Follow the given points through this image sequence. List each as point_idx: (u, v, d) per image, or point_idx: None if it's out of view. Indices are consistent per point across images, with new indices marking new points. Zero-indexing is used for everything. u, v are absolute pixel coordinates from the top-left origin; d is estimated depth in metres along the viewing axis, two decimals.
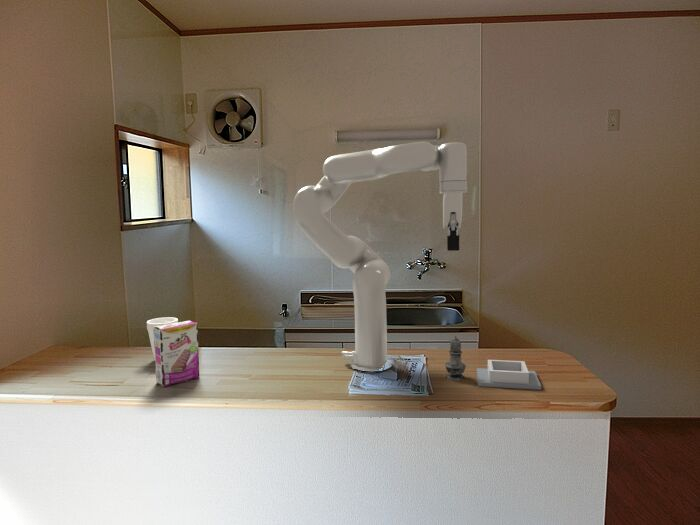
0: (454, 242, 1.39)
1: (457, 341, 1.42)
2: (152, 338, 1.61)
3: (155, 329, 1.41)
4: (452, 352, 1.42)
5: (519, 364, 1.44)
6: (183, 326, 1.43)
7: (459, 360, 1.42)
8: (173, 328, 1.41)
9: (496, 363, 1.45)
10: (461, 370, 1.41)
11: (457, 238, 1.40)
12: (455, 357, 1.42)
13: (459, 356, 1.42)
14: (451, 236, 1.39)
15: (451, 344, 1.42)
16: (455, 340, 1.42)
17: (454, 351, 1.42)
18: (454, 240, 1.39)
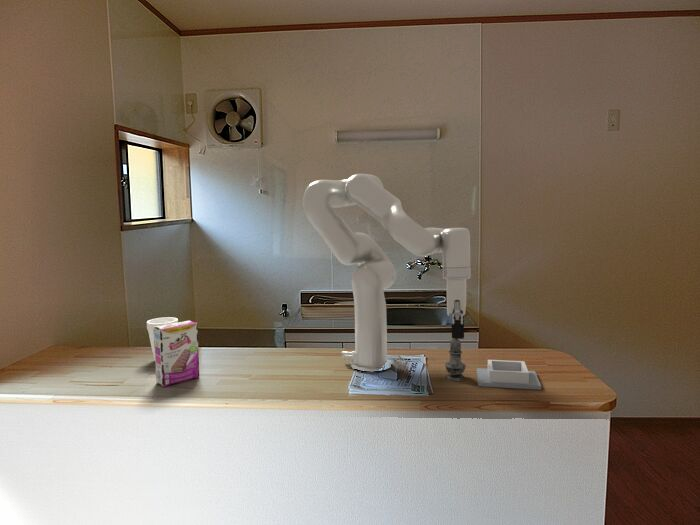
0: (459, 331, 1.36)
1: (457, 341, 1.42)
2: (152, 338, 1.61)
3: (155, 329, 1.41)
4: (452, 352, 1.42)
5: (519, 364, 1.44)
6: (183, 326, 1.43)
7: (459, 360, 1.42)
8: (173, 328, 1.41)
9: (496, 363, 1.45)
10: (461, 370, 1.41)
11: (462, 326, 1.37)
12: (455, 357, 1.42)
13: (459, 356, 1.42)
14: (455, 325, 1.36)
15: (451, 344, 1.42)
16: (455, 340, 1.42)
17: (454, 351, 1.42)
18: (459, 329, 1.36)
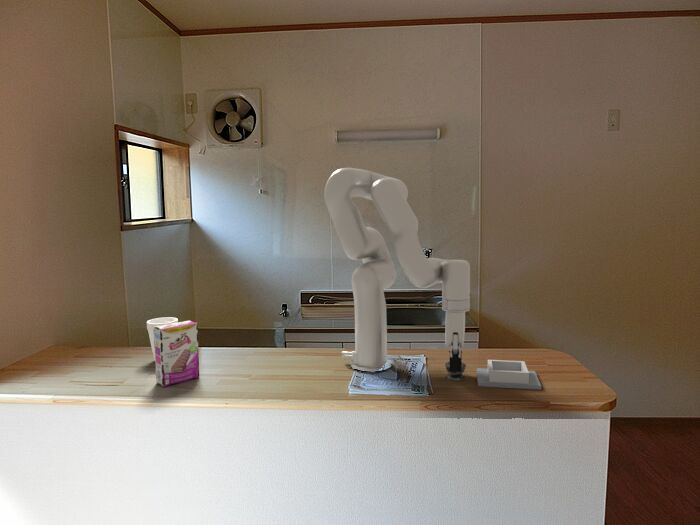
0: (456, 364, 1.39)
1: None
2: (152, 338, 1.61)
3: (155, 329, 1.41)
4: None
5: (519, 364, 1.44)
6: (183, 326, 1.43)
7: None
8: (173, 328, 1.41)
9: (496, 363, 1.45)
10: (461, 370, 1.41)
11: (459, 360, 1.39)
12: None
13: None
14: (453, 358, 1.39)
15: None
16: None
17: None
18: (456, 362, 1.39)
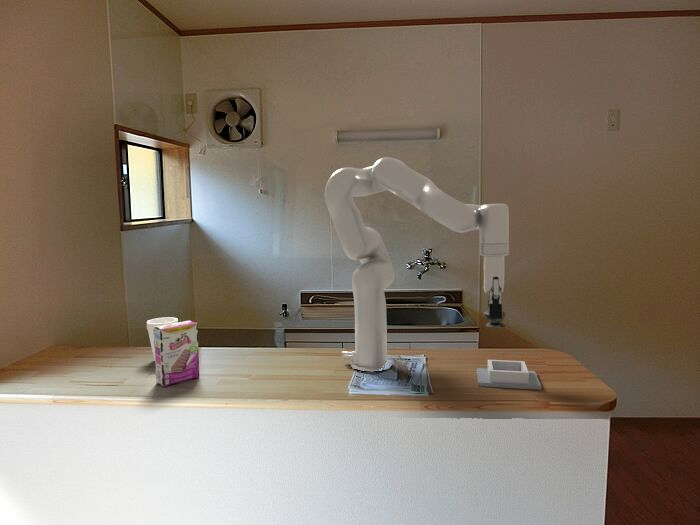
0: (497, 310, 1.35)
1: None
2: (152, 338, 1.61)
3: (155, 329, 1.41)
4: None
5: (519, 364, 1.44)
6: (183, 326, 1.43)
7: None
8: (173, 328, 1.41)
9: (496, 363, 1.45)
10: None
11: (500, 306, 1.35)
12: None
13: None
14: (493, 304, 1.35)
15: None
16: None
17: None
18: (497, 308, 1.35)
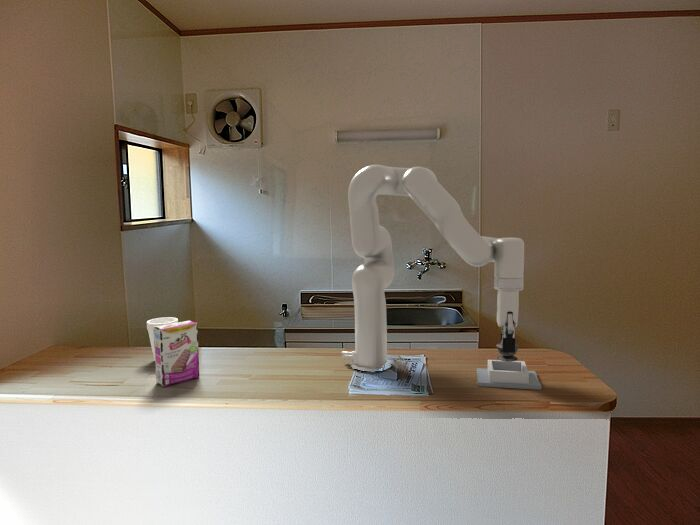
0: (510, 344, 1.35)
1: None
2: (152, 338, 1.61)
3: (155, 329, 1.41)
4: None
5: (519, 364, 1.44)
6: (183, 326, 1.43)
7: None
8: (173, 328, 1.41)
9: (496, 363, 1.45)
10: None
11: (513, 340, 1.36)
12: None
13: None
14: (507, 338, 1.35)
15: None
16: None
17: None
18: (510, 342, 1.35)
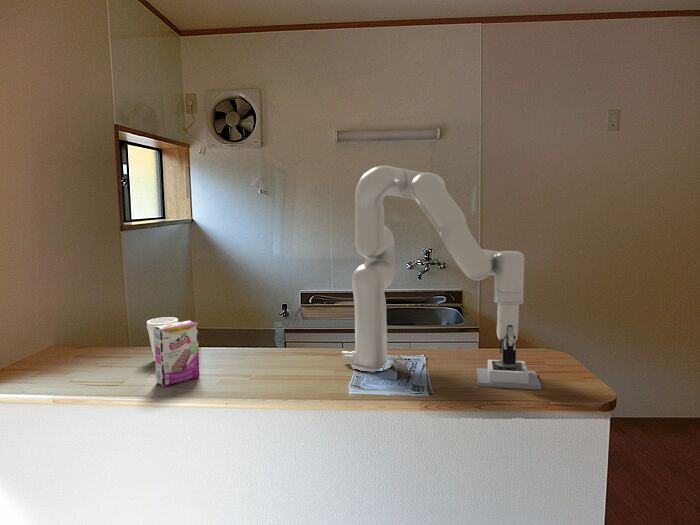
0: (510, 356, 1.34)
1: None
2: (152, 338, 1.61)
3: (155, 329, 1.41)
4: None
5: (519, 364, 1.44)
6: (183, 326, 1.43)
7: None
8: (173, 328, 1.41)
9: None
10: (513, 369, 1.38)
11: (513, 352, 1.35)
12: None
13: None
14: (507, 350, 1.34)
15: (503, 342, 1.39)
16: None
17: None
18: (510, 354, 1.34)
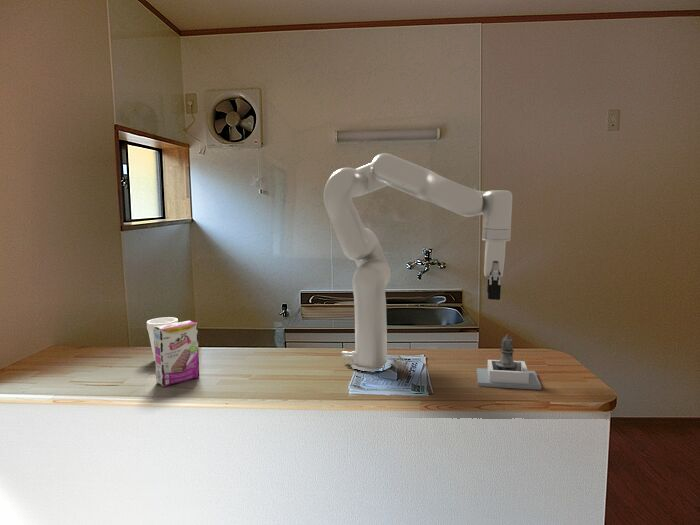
0: (495, 291, 1.38)
1: (509, 339, 1.39)
2: (152, 338, 1.61)
3: (155, 329, 1.41)
4: (504, 351, 1.39)
5: (519, 364, 1.44)
6: (183, 326, 1.43)
7: (511, 359, 1.39)
8: (173, 328, 1.41)
9: None
10: (513, 369, 1.38)
11: (498, 287, 1.38)
12: (507, 355, 1.39)
13: (511, 355, 1.39)
14: (492, 285, 1.38)
15: (503, 342, 1.39)
16: (507, 338, 1.39)
17: (506, 349, 1.39)
18: (495, 289, 1.38)
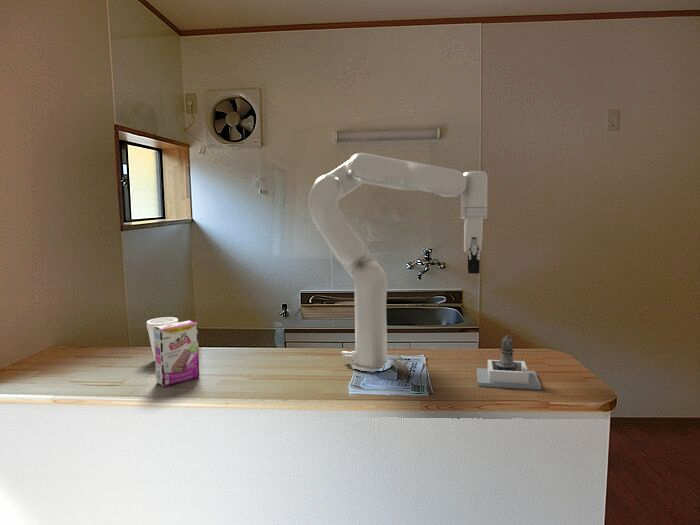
0: (475, 266, 1.47)
1: (509, 339, 1.39)
2: (152, 338, 1.61)
3: (155, 329, 1.41)
4: (504, 351, 1.39)
5: (519, 364, 1.44)
6: (183, 326, 1.43)
7: (511, 359, 1.39)
8: (173, 328, 1.41)
9: None
10: (513, 369, 1.38)
11: (477, 262, 1.48)
12: (507, 355, 1.39)
13: (511, 355, 1.39)
14: (472, 260, 1.47)
15: (503, 342, 1.39)
16: (507, 338, 1.39)
17: (506, 350, 1.39)
18: (475, 264, 1.47)
